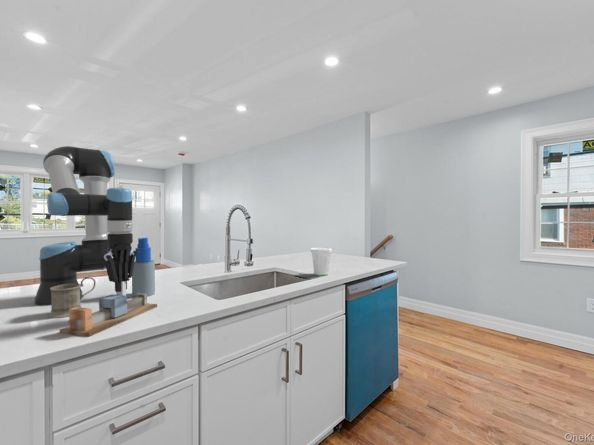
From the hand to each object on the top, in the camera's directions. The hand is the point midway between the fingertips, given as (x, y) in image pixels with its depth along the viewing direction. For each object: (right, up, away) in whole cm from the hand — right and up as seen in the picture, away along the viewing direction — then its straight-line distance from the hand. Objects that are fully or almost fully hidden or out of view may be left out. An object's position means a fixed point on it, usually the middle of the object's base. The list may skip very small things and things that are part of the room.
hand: (121, 299), depth 102 cm
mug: (-20, -6, +4) cm, 21 cm away
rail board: (-1, -6, -3) cm, 6 cm away
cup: (+76, -4, +70) cm, 103 cm away
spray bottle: (-6, -5, +26) cm, 28 cm away
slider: (-1, -4, -3) cm, 5 cm away
